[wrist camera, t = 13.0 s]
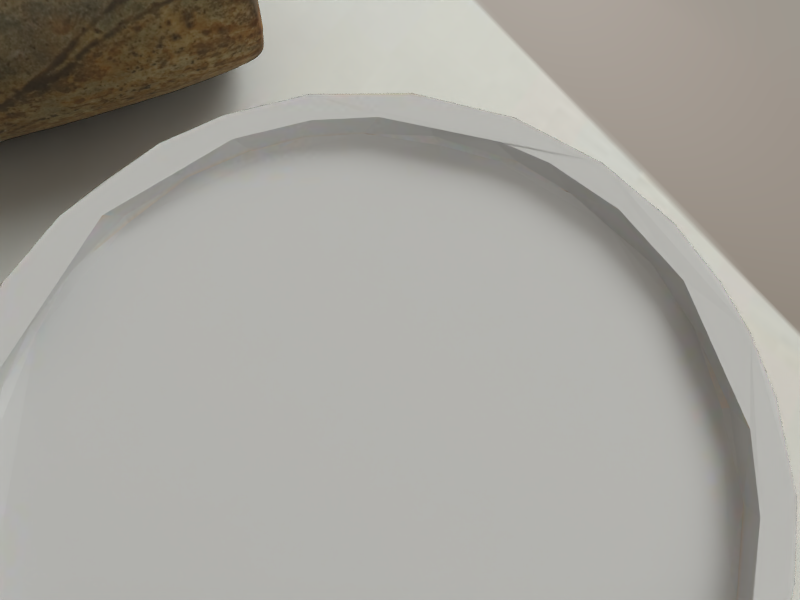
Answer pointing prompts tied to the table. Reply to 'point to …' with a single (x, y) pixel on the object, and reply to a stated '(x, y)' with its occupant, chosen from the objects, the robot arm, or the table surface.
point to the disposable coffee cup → (381, 377)
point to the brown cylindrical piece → (113, 54)
